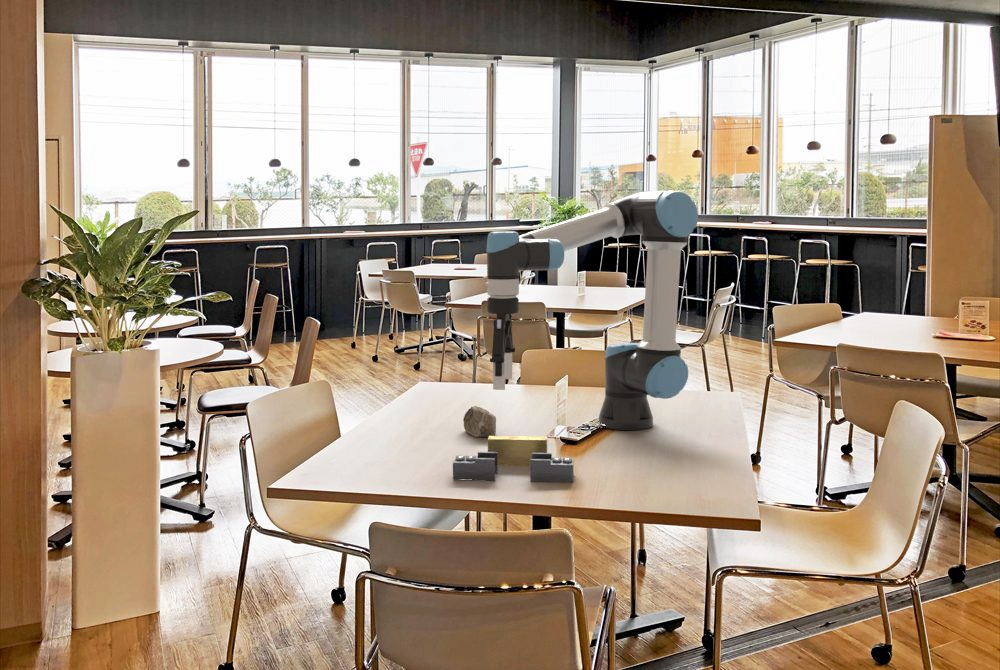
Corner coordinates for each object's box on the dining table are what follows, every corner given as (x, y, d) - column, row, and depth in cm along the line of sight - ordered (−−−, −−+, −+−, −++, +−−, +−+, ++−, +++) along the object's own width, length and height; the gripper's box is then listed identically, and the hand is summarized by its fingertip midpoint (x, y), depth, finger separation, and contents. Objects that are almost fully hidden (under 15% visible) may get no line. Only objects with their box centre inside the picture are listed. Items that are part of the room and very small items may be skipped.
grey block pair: (573, 474, 205) (573, 453, 204) (572, 482, 199) (573, 460, 198) (457, 472, 207) (456, 451, 207) (453, 479, 202) (452, 458, 201)
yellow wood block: (547, 463, 215) (547, 436, 214) (546, 466, 212) (546, 440, 211) (489, 462, 216) (489, 435, 215) (488, 465, 213) (487, 439, 212)
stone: (481, 439, 236) (481, 413, 235) (457, 431, 246) (458, 405, 245) (503, 437, 239) (504, 411, 239) (480, 428, 250) (480, 403, 249)
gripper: (494, 291, 226) (494, 374, 229) (478, 301, 201) (479, 393, 204) (524, 292, 225) (524, 375, 228) (512, 301, 200) (511, 394, 203)
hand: (502, 384), depth 216 cm, fingers open, 13 cm apart
